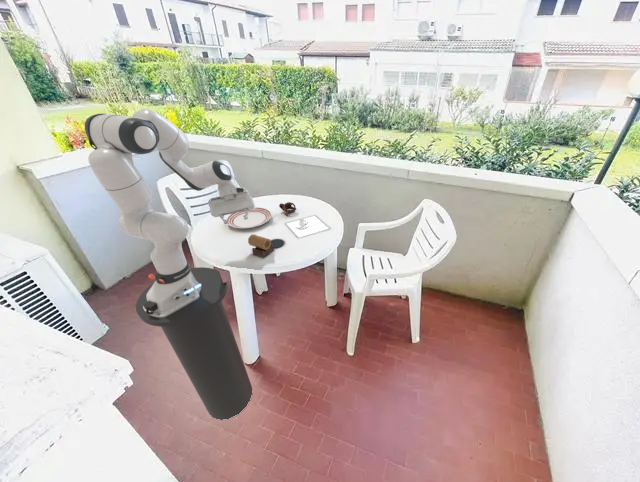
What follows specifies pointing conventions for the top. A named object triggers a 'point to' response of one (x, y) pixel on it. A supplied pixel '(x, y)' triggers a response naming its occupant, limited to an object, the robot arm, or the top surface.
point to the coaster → (277, 243)
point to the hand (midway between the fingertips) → (236, 221)
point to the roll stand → (262, 251)
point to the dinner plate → (249, 218)
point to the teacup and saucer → (307, 226)
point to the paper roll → (259, 242)
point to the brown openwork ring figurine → (288, 206)
